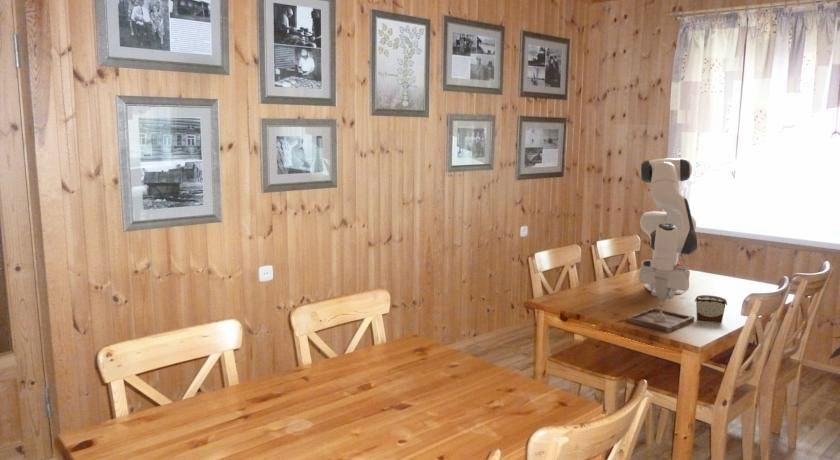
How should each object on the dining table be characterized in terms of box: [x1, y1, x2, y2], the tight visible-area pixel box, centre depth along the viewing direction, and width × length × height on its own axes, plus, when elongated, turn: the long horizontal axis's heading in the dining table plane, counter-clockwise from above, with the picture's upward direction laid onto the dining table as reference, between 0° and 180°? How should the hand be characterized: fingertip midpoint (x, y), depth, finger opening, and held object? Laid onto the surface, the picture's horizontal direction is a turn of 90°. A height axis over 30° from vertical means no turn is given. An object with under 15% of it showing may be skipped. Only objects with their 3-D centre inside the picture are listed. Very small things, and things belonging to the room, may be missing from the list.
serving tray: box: [626, 307, 695, 334], centre depth 258 cm, size 22×18×2 cm
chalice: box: [654, 277, 671, 322], centre depth 256 cm, size 7×7×18 cm
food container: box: [694, 294, 728, 324], centre depth 260 cm, size 12×6×10 cm, turn 71°
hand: (662, 296), depth 256 cm, fingers closed on chalice, 5 cm apart
